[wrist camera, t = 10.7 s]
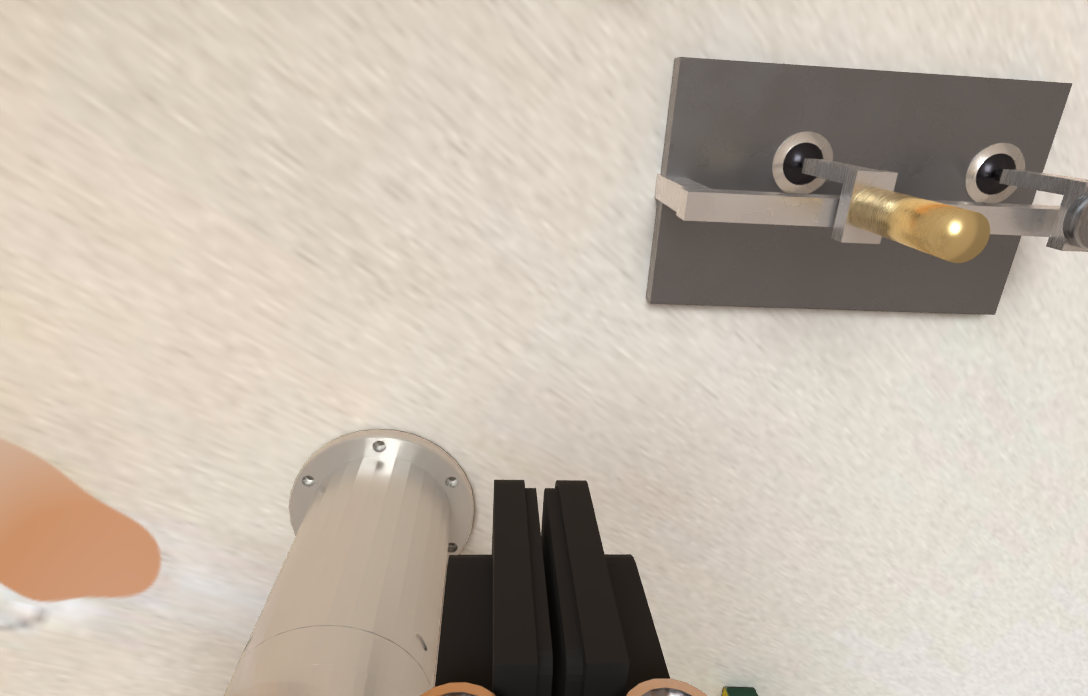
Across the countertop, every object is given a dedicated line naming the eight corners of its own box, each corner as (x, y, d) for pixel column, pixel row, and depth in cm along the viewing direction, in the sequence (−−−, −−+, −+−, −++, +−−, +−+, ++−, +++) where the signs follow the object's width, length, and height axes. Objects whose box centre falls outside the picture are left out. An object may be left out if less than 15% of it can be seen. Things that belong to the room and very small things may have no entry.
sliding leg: (812, 217, 38) (975, 281, 25) (780, 216, 38) (927, 279, 25) (824, 158, 37) (1003, 193, 24) (791, 156, 36) (953, 190, 24)
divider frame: (1002, 222, 40) (1150, 259, 31) (648, 205, 39) (696, 241, 29) (1020, 167, 39) (1180, 189, 30) (655, 147, 37) (707, 164, 28)
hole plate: (981, 308, 43) (996, 315, 41) (645, 297, 41) (650, 303, 39) (1055, 83, 38) (1073, 83, 36) (674, 58, 36) (680, 57, 34)
